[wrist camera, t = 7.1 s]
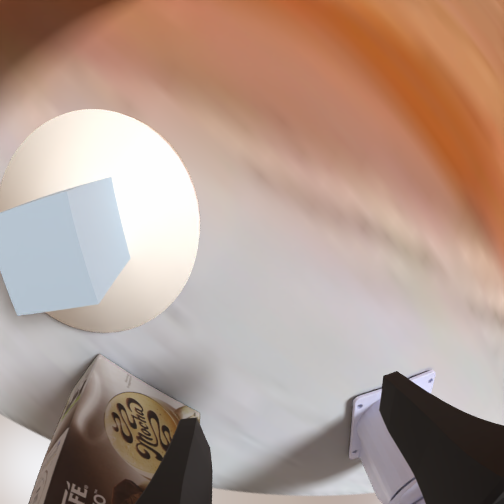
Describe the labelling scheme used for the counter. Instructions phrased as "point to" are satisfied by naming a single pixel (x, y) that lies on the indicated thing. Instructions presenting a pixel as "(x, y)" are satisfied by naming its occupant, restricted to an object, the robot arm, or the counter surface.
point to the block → (62, 248)
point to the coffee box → (108, 439)
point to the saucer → (129, 205)
